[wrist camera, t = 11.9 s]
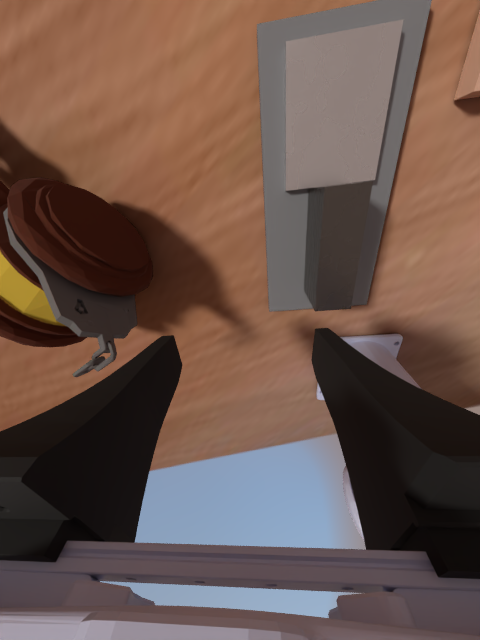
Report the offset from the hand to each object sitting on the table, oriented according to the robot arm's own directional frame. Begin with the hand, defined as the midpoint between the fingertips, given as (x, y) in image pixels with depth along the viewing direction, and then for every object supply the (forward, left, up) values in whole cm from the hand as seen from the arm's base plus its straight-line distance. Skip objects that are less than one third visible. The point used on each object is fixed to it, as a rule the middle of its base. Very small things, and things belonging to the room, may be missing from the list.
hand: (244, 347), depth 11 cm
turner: (+6, -6, -10) cm, 13 cm away
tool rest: (+6, -6, -11) cm, 14 cm away
